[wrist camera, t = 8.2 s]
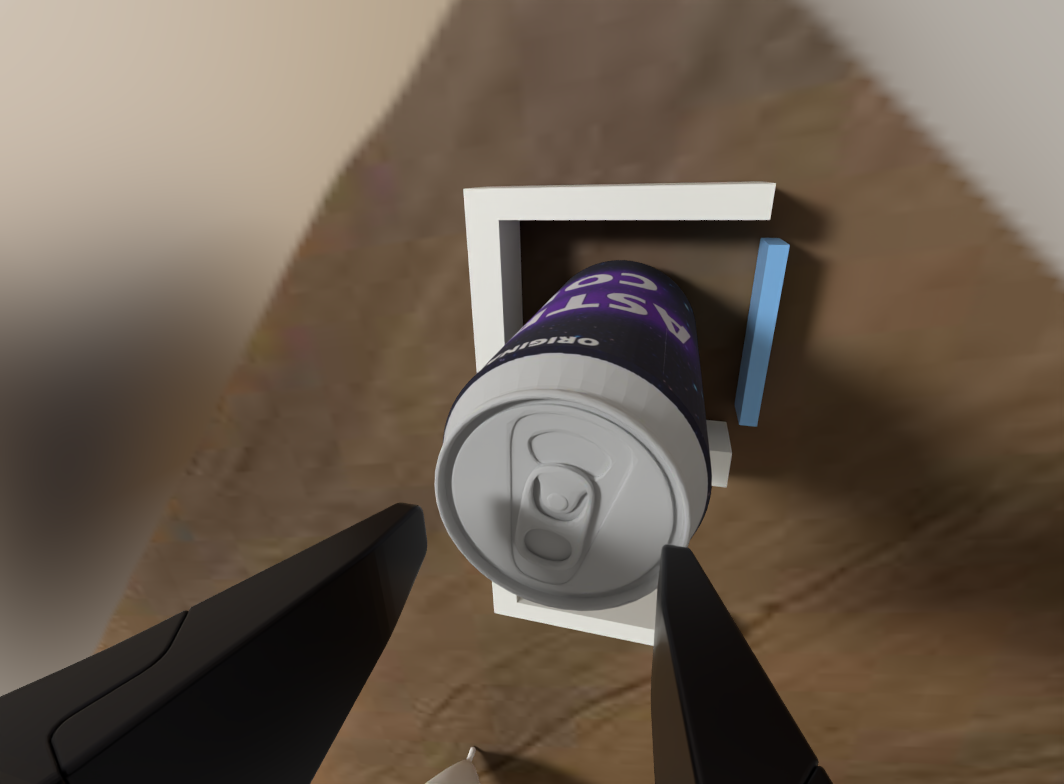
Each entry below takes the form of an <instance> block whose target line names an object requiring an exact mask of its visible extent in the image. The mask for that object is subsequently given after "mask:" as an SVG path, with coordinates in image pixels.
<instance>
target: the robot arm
mask: <svg viewBox="0 0 1064 784" xmlns="http://www.w3.org/2000/svg"><path fill="white" fill-rule="evenodd" d="M426 551H427V536H426V529H425V522H424V514H423V510H422V508H421V507H420V506H418V505H414V504H407V503H397V504H394V505H392V506H390V507H388V508H387V509H385V510H383V511H381V512H379V513H377V514H375V515H373V516H371V517H369V518H367V519H365V520H363V521H361V522H359V523H357V524H355V525H353V526H351V527H349V528H347V529H345V530H343V531H341V532H339V533H337V534H335V535H333V536H331V537H329V538H327V539H325V540H323V541H321V542H319V543H317V544H315V545H313V546H311V547H310V548H308V549H306V550H304V551H302V552H300V553H298V554H296V555H294V556H292V557H290V558H288V559H286V560H284V561H282V562H280V563H278V564H276V565H274V566H272V567H270V568H268V569H266V570H264V571H262V572H260V573H258V574H256V575H254V576H252V577H250V578H248V579H246V580H244V581H242V582H240V583H238V584H236V585H234V586H232V587H230V588H228V589H226V590H224V591H222V592H221V593H219V594H217V595H215V596H213V597H211V598H209V599H207V600H205V601H203V602H201V603H199V604H197V605H195V606H193V607H191V608H190V610H189V611H183V612H181V613H179V614H177V615H175V616H173V617H171V618H169V619H167V620H165V621H163V622H161V623H159V624H157V625H155V626H153V627H151V628H149V629H147V630H145V631H143V632H141V633H139V634H137V635H135V636H133V637H131V638H129V639H126V640H124V641H122V642H120V643H118V644H116V645H114V646H112V647H110V648H108V649H106V650H103V651H101V652H99V653H97V654H95V655H92V656H90V657H88V658H86V659H84V660H82V661H79V662H77V663H75V664H73V665H70V666H68V667H66V668H64V669H62V670H60V671H57V672H55V673H53V674H51V675H48V676H46V677H44V678H42V679H39V680H37V681H35V682H32V683H30V684H28V685H26V686H23V687H21V688H19V689H17V690H14V691H12V692H10V693H8V694H5V695H3V696H1V697H0V784H310V783H311V781H312V779H313V778H314V776H315V774H316V772H317V770H318V768H319V767H320V765H321V763H322V761H323V759H324V758H325V756H326V754H327V752H328V750H329V748H330V747H331V745H332V743H333V741H334V739H335V738H336V736H337V734H338V732H339V730H340V728H341V727H342V725H343V723H344V721H345V719H346V717H347V716H348V714H349V712H350V710H351V708H352V707H353V705H354V703H355V701H356V699H357V697H358V696H359V694H360V692H361V690H362V688H363V687H364V685H365V683H366V681H367V679H368V677H369V676H370V674H371V672H372V670H373V668H374V666H375V665H376V663H377V661H378V659H379V657H380V656H381V654H382V652H383V650H384V648H385V646H386V644H387V642H388V641H389V639H390V637H391V635H392V632H393V630H394V628H395V626H396V624H397V621H398V619H399V617H400V614H401V612H402V610H403V607H404V605H405V602H406V600H407V598H408V595H409V593H410V591H411V588H412V586H413V584H414V581H415V579H416V576H417V574H418V572H419V569H420V567H421V565H422V562H423V560H424V557H425V555H426ZM651 717H652V736H653V755H654V774H655V784H833V783H832V781H831V780H830V778H829V776H828V775H827V773H826V771H825V770H824V768H823V767H821V766H818V759H817V757H816V755H815V754H814V752H813V750H812V749H811V747H810V745H809V744H808V742H807V740H806V739H805V737H804V736H803V734H802V732H801V731H800V729H799V727H798V726H797V724H796V722H795V721H794V719H793V717H792V716H791V714H790V712H789V711H788V709H787V707H786V706H785V704H784V703H783V701H782V699H781V698H780V696H779V694H778V693H777V691H776V689H775V688H774V686H773V684H772V683H771V681H770V679H769V678H768V676H767V674H766V673H765V671H764V670H763V668H762V666H761V665H760V663H759V661H758V660H757V658H756V656H755V655H754V653H753V651H752V650H751V648H750V646H749V645H748V643H747V641H746V640H745V638H744V637H743V635H742V633H741V632H740V630H739V628H738V627H737V625H736V623H735V622H734V620H733V618H732V617H731V615H730V613H729V612H728V610H727V608H726V607H725V605H724V604H723V602H722V600H721V599H720V597H719V595H718V594H717V592H716V590H715V589H714V587H713V585H712V584H711V582H710V580H709V579H708V577H707V575H706V574H705V572H704V571H703V569H702V567H701V566H700V564H699V562H698V561H697V559H696V557H695V556H694V554H693V552H692V551H691V550H690V549H689V548H687V547H682V546H676V545H669V544H665V545H663V547H662V550H661V559H660V569H659V578H658V588H657V601H656V616H655V631H654V647H653V662H652V677H651Z"/></svg>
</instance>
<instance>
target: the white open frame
mask: <svg viewBox="0 0 1064 784" xmlns="http://www.w3.org/2000/svg"><path fill="white" fill-rule="evenodd" d="M775 187H776V183H770V182H710V183H656V184H602V185H548V186H494V187H479V188H468V189H463V191H464V205H465V218H466V232H467V245H468V259H469V273H470V286H471V300H472V314H473V327H474V341H475V355H476V368H477V373H478V372H479V371H480V370H481V369H482V368H483V367H484V366H485V365H486V364H487V363H488V362H489V361H490V360H491V359H492V358H493V357H494V356H495V355H496V354H497V352H498V351H499V350H500V349H501V348H502V347H503V346H504V345H505V344H506V343H507V342H508V341H509V340H510V339H511V338H512V337H513V336H514V335H515V334H516V333H517V332H518V331H519V330H520V329H521V328H522V327H523V311H522V279H521V248H520V220H770V217H771V211H772V205H773V199H774V193H775ZM789 247H790V245H789V244H788V243H786V242H785V241H783V240H782V239H780V238H761V239H760V245H759V251H758V258H757V264H756V270H755V277H754V283H753V289H752V296H751V302H750V309H749V315H748V321H747V328H746V334H745V340H744V347H743V353H742V359H741V366H740V372H739V378H738V385H737V391H736V397H735V404H734V405H735V409H736V414H737V418H738V422H739V425H744V426H755V427H757V423H758V417H759V412H760V406H761V401H762V395H763V390H764V384H765V379H766V373H767V368H768V362H769V357H770V351H771V346H772V340H773V335H774V329H775V324H776V318H777V313H778V307H779V302H780V296H781V291H782V285H783V280H784V274H785V269H786V263H787V258H788V252H789ZM706 423H707V432H708V441H709V450H710V459H711V469H712V486H719V487H727V481H728V475H729V469H730V463H731V457H732V449H731V444H730V439H729V433H728V428H727V423H726V422H723V421H712V420H706ZM492 586H493V600H494V613H497V614H502V615H507V616H512V617H517V618H522V619H526V620H531V621H536V622H541V623H546V624H550V625H555V626H560V627H565V628H570V629H575V630H579V631H584V632H589V633H594V634H599V635H604V636H608V637H613V638H618V639H623V640H628V641H633V642H637V643H642V644H647V645H652V646H654V631H655V616H656V601H657V589H656V590H654V591H653V592H652V593H650V594H649V595H647V596H645V597H643V598H641V599H639V600H637V601H635V602H632V603H629V604H626V605H623V606H620V607H616V608H610V609H605V610H595V611H575V610H563V609H558V608H553V607H548V606H544V605H541V604H538V603H535V602H532V601H529V600H526V599H524V598H522V597H519V596H517V595H515V594H513V593H511V592H509V591H507V590H506V589H504V588H502V587H500V586H499V585H497V584H496V583H494V582H493V581H492Z"/></svg>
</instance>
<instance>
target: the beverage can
mask: <svg viewBox="0 0 1064 784" xmlns="http://www.w3.org/2000/svg"><path fill="white" fill-rule="evenodd" d="M711 488H712V469H711V459H710V450H709V441H708V432H707V423H706V414H705V404H704V395H703V386H702V377H701V368H700V359H699V350H698V340H697V331H696V323H695V318H694V313H693V310H692V308H691V305H690V303H689V301H688V299H687V297H686V296H685V294H684V293H683V291H682V290H681V289H680V287H679V286H678V285H677V284H676V283H675V282H674V281H673V280H672V279H671V278H669V277H668V276H667V275H665V274H664V273H662V272H661V271H659V270H657V269H655V268H653V267H651V266H648V265H646V264H643V263H639V262H634V261H625V260H616V261H607V262H602V263H598V264H595V265H593V266H590V267H588V268H586V269H584V270H582V271H580V272H579V273H577V274H576V275H574V276H573V277H572V278H571V279H570V280H568V281H567V282H566V283H565V284H564V285H563V286H562V287H561V288H560V289H559V291H558V292H557V293H556V294H555V295H554V296H553V297H552V298H551V299H550V300H549V301H548V302H547V303H546V304H545V305H544V306H543V307H542V308H541V309H540V310H539V311H538V312H537V313H536V314H535V315H534V316H533V317H532V318H531V319H530V320H529V321H528V322H527V323H526V324H525V325H524V326H523V327H522V328H521V329H520V330H519V331H518V332H517V333H516V334H515V335H514V336H513V337H512V338H511V339H510V340H509V341H508V342H507V343H506V344H505V345H504V346H503V347H502V348H501V349H500V350H499V351H498V352H497V354H496V355H495V356H494V357H493V358H492V359H491V360H490V361H489V362H488V363H487V364H486V365H485V366H484V367H483V368H482V369H481V370H480V371H479V372H478V373H477V374H476V375H475V376H474V377H473V378H472V379H471V380H470V381H469V382H468V383H467V384H466V385H465V387H464V388H463V389H462V390H461V392H460V393H459V395H458V396H457V398H456V400H455V402H454V403H453V405H452V408H451V410H450V412H449V415H448V418H447V421H446V425H445V430H444V437H443V446H442V448H441V451H440V454H439V457H438V461H437V465H436V470H435V494H436V501H437V506H438V509H439V512H440V516H441V519H442V521H443V523H444V525H445V527H446V529H447V532H448V534H449V535H450V537H451V538H452V540H453V541H454V543H455V545H456V546H457V548H458V549H459V550H460V551H461V552H462V554H463V555H464V556H465V557H466V558H467V560H468V561H469V562H470V563H471V564H472V565H473V566H474V567H476V568H477V569H478V570H479V571H480V572H481V573H482V574H483V575H485V576H486V577H487V578H489V579H490V580H491V581H493V582H494V583H496V584H497V585H499V586H500V587H502V588H504V589H506V590H507V591H509V592H511V593H513V594H515V595H517V596H519V597H522V598H524V599H526V600H529V601H532V602H535V603H538V604H541V605H544V606H548V607H553V608H558V609H563V610H575V611H595V610H605V609H610V608H616V607H620V606H623V605H626V604H629V603H632V602H635V601H637V600H639V599H641V598H643V597H645V596H647V595H649V594H650V593H652V592H653V591H654V590H656V589H657V588H658V578H659V569H660V559H661V550H662V547H663V545H665V544H669V545H676V546H682V547H688V544H689V541H690V539H691V538H692V536H693V535H694V534H695V532H696V531H697V529H698V528H699V526H700V524H701V522H702V520H703V518H704V516H705V513H706V510H707V508H708V504H709V500H710V495H711Z"/></svg>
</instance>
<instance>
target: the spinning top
mask: <svg viewBox="0 0 1064 784" xmlns="http://www.w3.org/2000/svg"><path fill="white" fill-rule="evenodd" d="M475 751H476V749H475V747H471V748H470V751H469V754H468V757H467V760H461V761H460V762H458V763H456V764H454V765H452V766H450V767H449V768H447V769H445V770H444V771H442V772H441V773H439V774H438V775H436V776H435V777H433V778H432V779H431V780H429V781H428V782H427V783H425V784H480V782H479V778H478V775H477V772H476V769H475V766H474V764H473V763H472V759H473V757H474V754H475Z"/></svg>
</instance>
